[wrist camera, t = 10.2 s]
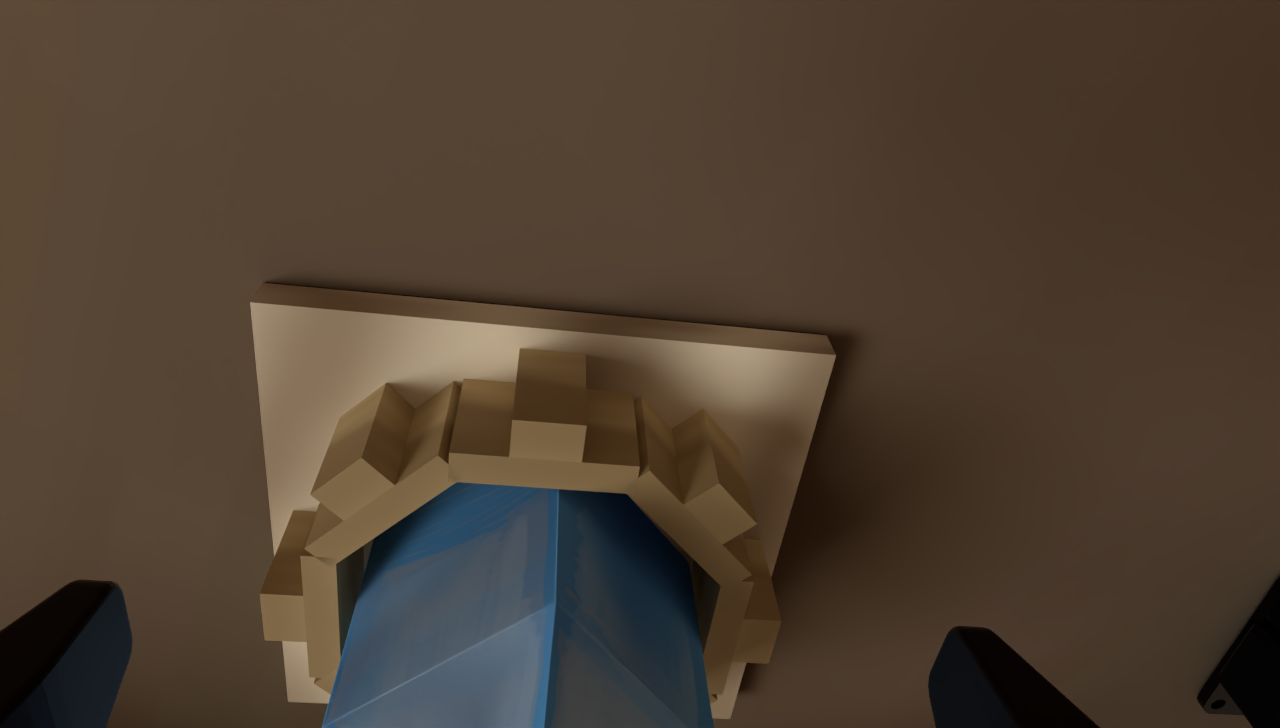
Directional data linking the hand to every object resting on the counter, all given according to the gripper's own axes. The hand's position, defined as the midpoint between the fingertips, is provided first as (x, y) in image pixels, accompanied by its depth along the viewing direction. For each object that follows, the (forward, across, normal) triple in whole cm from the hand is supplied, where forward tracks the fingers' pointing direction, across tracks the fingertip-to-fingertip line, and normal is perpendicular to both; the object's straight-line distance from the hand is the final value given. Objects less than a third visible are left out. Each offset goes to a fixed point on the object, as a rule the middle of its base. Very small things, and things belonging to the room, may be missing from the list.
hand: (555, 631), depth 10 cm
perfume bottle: (+12, 0, +10) cm, 16 cm away
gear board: (+13, 0, +10) cm, 16 cm away
